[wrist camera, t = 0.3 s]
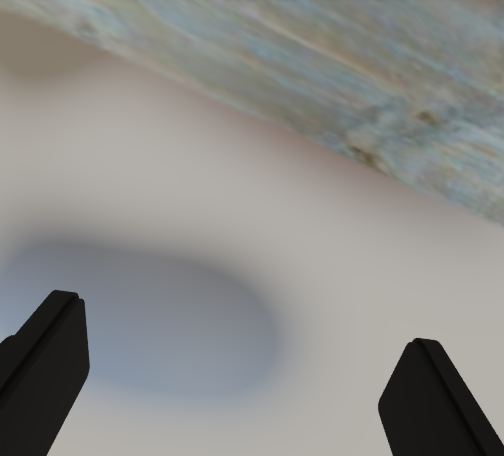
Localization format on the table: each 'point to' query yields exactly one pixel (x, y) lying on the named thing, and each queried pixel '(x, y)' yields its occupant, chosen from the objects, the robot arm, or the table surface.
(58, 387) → the robot arm
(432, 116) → the table surface
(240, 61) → the table surface
